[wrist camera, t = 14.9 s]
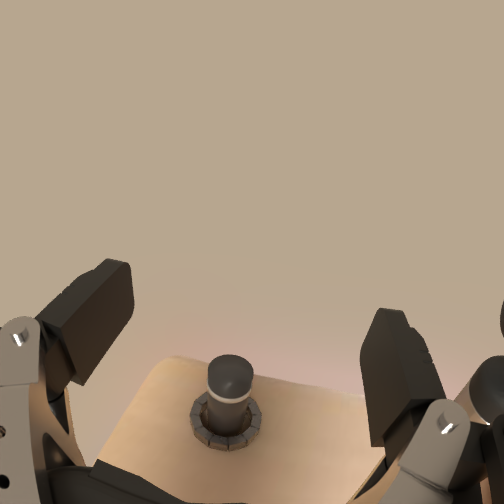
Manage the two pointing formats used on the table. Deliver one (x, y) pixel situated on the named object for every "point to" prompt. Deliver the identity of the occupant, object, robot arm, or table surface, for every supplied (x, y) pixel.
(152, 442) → the table surface
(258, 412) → the block ring
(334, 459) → the table surface
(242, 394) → the dark grey canister
